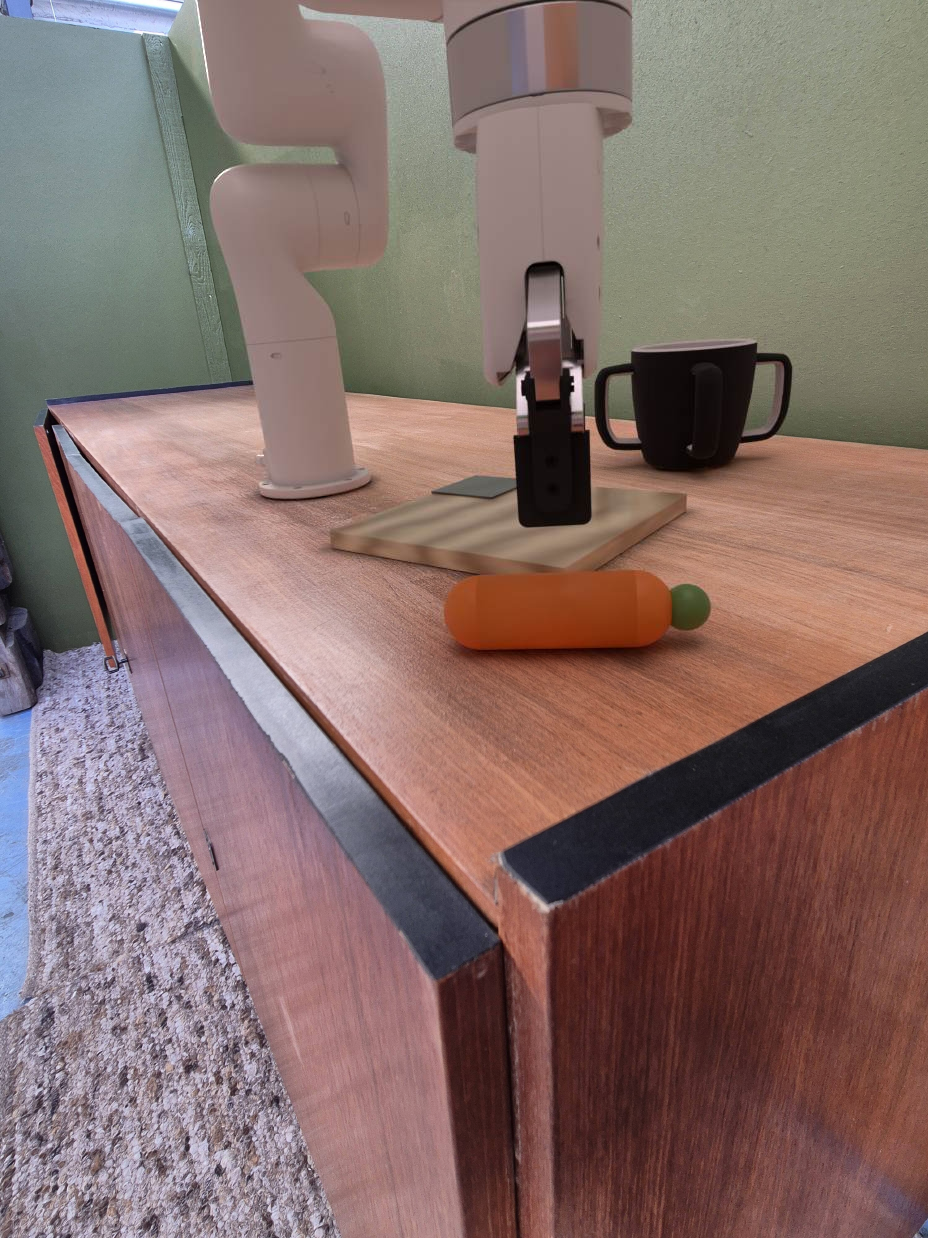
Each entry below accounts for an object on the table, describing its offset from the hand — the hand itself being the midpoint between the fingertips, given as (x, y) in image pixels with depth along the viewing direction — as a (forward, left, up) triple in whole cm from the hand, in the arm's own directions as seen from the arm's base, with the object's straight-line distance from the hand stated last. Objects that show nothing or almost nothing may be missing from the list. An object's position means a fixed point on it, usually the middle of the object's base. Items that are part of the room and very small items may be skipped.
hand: (556, 498), depth 36 cm
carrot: (0, 0, -7) cm, 7 cm away
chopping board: (-14, +16, -8) cm, 23 cm away
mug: (-10, +44, -8) cm, 46 cm away
